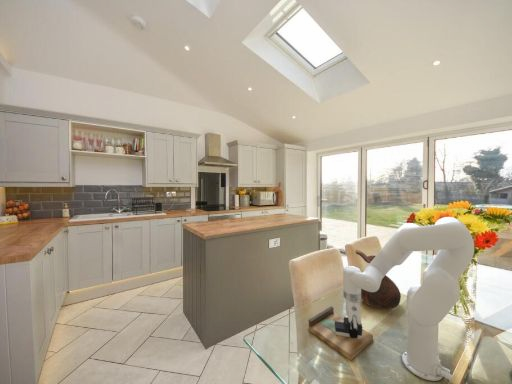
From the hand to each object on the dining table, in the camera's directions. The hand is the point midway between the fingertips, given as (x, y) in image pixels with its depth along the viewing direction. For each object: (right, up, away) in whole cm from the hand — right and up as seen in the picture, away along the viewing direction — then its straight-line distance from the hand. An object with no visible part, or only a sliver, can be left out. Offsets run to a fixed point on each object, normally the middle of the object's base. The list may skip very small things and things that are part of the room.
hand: (352, 332), depth 98 cm
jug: (+27, -1, +27) cm, 38 cm away
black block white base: (-2, -1, +1) cm, 2 cm away
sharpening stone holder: (-5, -3, +3) cm, 6 cm away
